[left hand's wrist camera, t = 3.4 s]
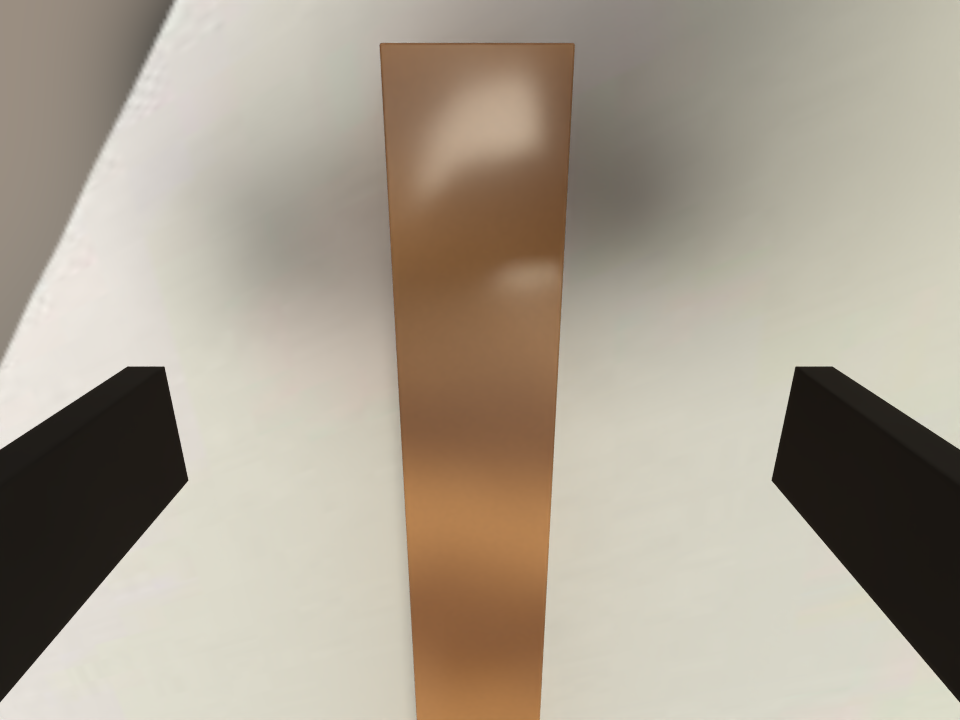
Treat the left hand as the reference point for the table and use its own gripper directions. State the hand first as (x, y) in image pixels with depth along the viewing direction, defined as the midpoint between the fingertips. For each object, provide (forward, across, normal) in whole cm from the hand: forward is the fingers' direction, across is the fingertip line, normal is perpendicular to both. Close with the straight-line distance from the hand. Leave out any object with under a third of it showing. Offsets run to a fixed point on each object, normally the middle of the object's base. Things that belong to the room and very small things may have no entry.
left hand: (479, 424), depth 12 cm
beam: (+14, 0, -23) cm, 26 cm away
